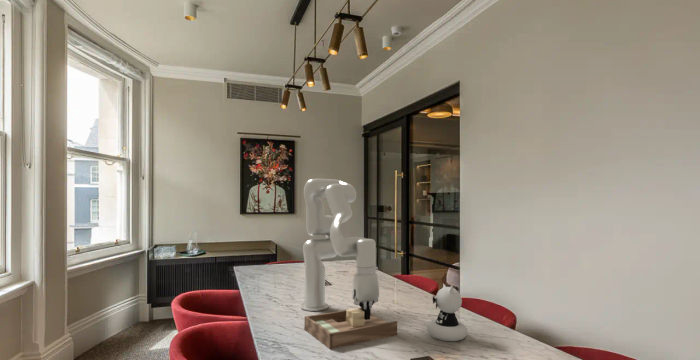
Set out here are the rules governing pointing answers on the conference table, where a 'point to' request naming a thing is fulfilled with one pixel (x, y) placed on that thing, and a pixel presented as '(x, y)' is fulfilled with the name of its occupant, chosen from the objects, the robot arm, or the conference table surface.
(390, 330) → the box
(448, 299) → the decorative figurine
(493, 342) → the conference table surface
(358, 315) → the maple block
